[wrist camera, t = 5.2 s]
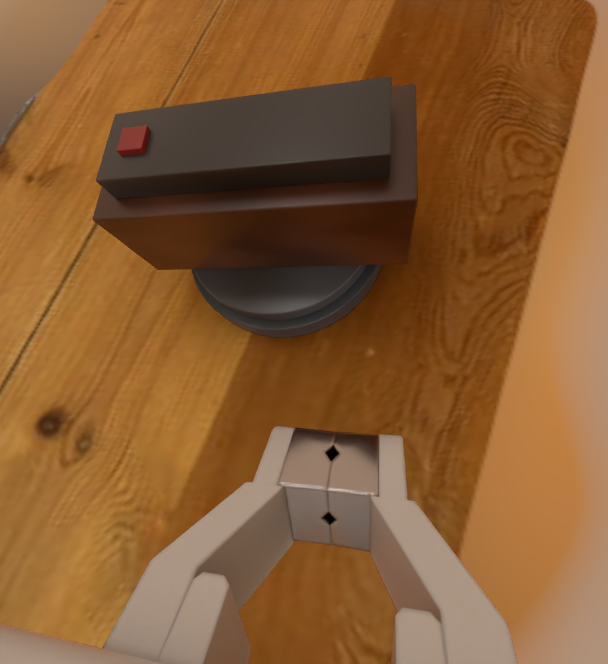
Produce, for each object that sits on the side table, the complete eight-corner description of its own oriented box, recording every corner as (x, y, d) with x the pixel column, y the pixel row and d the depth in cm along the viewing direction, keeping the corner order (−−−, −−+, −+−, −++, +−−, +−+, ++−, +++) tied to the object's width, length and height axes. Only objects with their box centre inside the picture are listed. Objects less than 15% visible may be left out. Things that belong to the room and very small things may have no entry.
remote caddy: (404, 145, 20) (419, -7, 13) (405, 322, 17) (424, 245, 10) (190, 166, 23) (110, 50, 16) (159, 319, 20) (44, 258, 13)
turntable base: (384, 340, 19) (385, 332, 18) (187, 335, 22) (173, 328, 20) (386, 160, 22) (387, 141, 21) (215, 175, 25) (205, 159, 23)
